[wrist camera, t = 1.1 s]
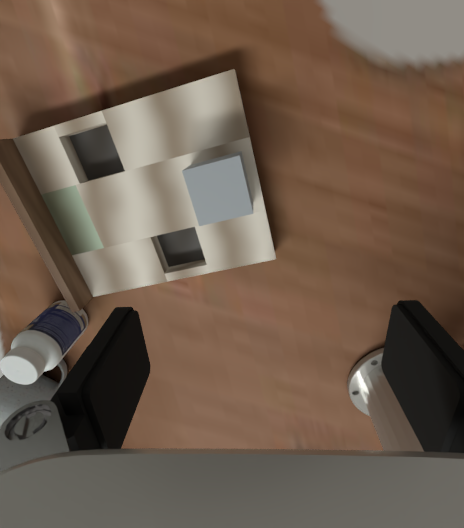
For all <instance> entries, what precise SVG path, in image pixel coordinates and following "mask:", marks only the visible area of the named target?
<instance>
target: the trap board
mask: <svg viewBox="0 0 464 528" xmlns="http://www.w3.org/2000/svg"><path fill="white" fill-rule="evenodd" d="M240 151H242V156H243V160H244V164H245V169H246V173H247V177H248V182H249V186H250V190H251V195H252V199H253V214H250V215H246V216H241V217H237V218H233V219H229V220H224V221H220V222H216V223H212V224H207V225H203V226H199V224H198V221H197V217H196V214H195V211H194V208H193V205H192V201H191V198H190V195H189V192H188V189H187V185H186V182H185V179H184V176H183V173H182V170H184V169H185V168H187V167H188V166H190V165H192V164H196V163H199V162H203V161H207V160H210V159H214V158H218V157H222V156H225V155H229V154H233V153H236V152H240ZM0 183H1V185H2V186H3V188H4V190H5V192H6V194H7V196H8V197H9V199H10V201H11V203H12V205H13V206H14V208H15V210H16V212H17V214H18V215H19V217H20V219H21V221H22V223H23V225H24V226H25V228H26V230H27V232H28V234H29V235H30V237H31V239H32V241H33V243H34V244H35V246H36V248H37V250H38V252H39V254H40V255H41V257H42V259H43V261H44V263H45V264H46V266H47V268H48V270H49V272H50V273H51V275H52V277H53V279H54V281H55V283H56V284H57V286H58V288H59V290H60V292H61V293H62V295H63V297H64V299H65V301H66V302H67V304H68V306H69V308H70V310H71V312H72V313H73V312H78V311H81V309H82V308H83V307H84V306H85V305H86V304H87V303H88V302H89V301H90V300H91V299H92V298H93V297H95V296H100V295H105V294H110V293H114V292H119V291H124V290H129V289H134V288H139V287H143V286H148V285H153V284H158V283H163V282H168V281H172V280H177V279H182V278H187V277H192V276H197V275H201V274H206V273H211V272H216V271H221V270H226V269H230V268H235V267H240V266H245V265H250V264H255V263H259V262H264V261H269V260H274V259H276V255H275V250H274V245H273V241H272V236H271V232H270V227H269V222H268V218H267V213H266V209H265V204H264V199H263V195H262V190H261V186H260V181H259V176H258V172H257V167H256V163H255V158H254V154H253V149H252V144H251V140H250V135H249V131H248V126H247V121H246V117H245V112H244V108H243V103H242V98H241V94H240V89H239V85H238V80H237V75H236V71H235V69H232V70H229V71H226V72H223V73H220V74H216V75H213V76H210V77H207V78H204V79H201V80H197V81H194V82H191V83H188V84H185V85H182V86H178V87H175V88H172V89H169V90H166V91H162V92H159V93H156V94H153V95H150V96H147V97H143V98H140V99H137V100H134V101H131V102H128V103H124V104H121V105H118V106H115V107H112V108H109V109H105V110H102V111H99V112H96V113H93V114H90V115H86V116H83V117H80V118H77V119H74V120H71V121H67V122H64V123H61V124H58V125H55V126H51V127H48V128H45V129H42V130H39V131H36V132H32V133H29V134H26V135H23V136H20V137H17V138H13V139H1V140H0Z"/></svg>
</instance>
